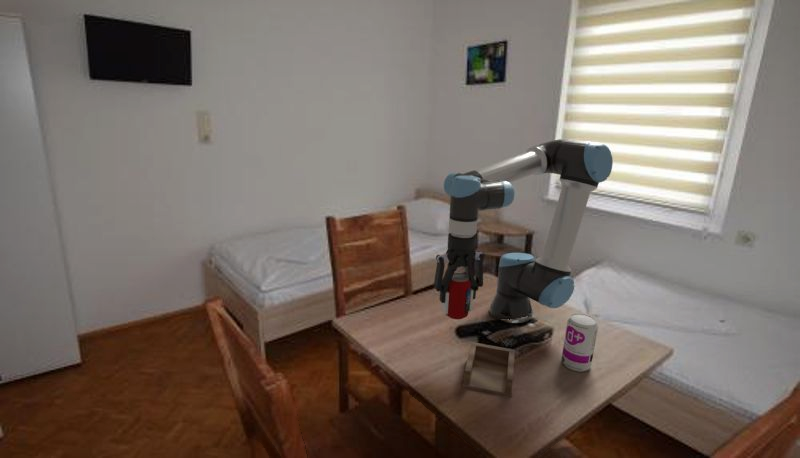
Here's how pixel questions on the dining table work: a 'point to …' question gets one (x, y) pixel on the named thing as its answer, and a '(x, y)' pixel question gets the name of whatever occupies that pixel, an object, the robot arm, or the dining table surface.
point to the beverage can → (459, 296)
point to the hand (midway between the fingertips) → (456, 310)
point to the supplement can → (579, 342)
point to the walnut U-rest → (490, 369)
